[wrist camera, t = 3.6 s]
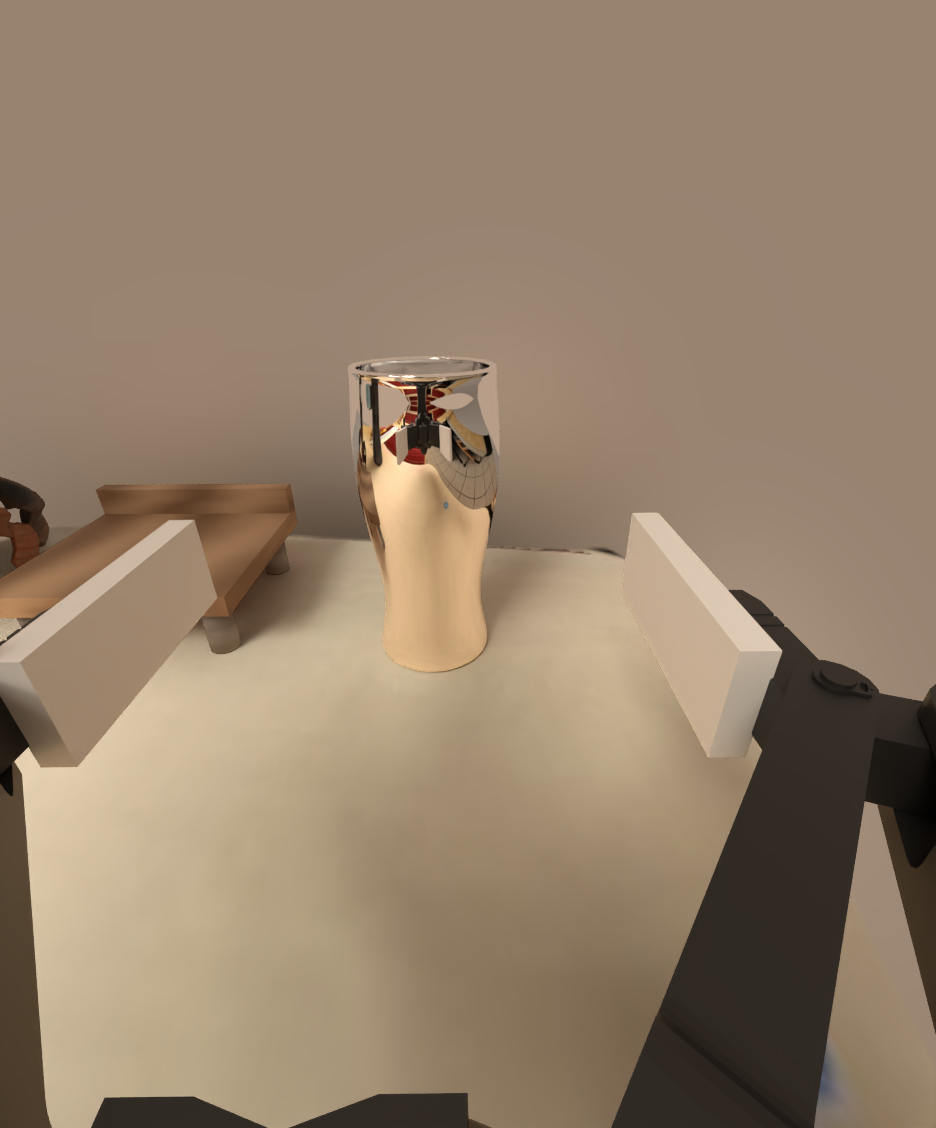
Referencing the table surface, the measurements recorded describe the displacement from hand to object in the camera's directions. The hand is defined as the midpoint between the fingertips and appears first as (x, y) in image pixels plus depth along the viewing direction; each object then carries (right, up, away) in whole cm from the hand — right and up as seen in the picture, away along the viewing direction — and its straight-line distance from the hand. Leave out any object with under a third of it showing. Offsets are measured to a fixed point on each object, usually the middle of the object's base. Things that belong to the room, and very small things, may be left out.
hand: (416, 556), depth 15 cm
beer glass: (0, -5, +14) cm, 15 cm away
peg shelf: (-17, -3, +17) cm, 25 cm away
